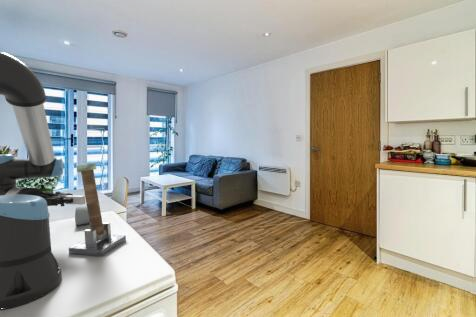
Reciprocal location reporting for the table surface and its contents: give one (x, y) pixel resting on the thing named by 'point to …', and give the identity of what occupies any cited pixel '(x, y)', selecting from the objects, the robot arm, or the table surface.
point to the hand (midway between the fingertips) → (83, 200)
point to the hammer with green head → (92, 199)
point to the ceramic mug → (81, 216)
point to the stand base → (97, 243)
